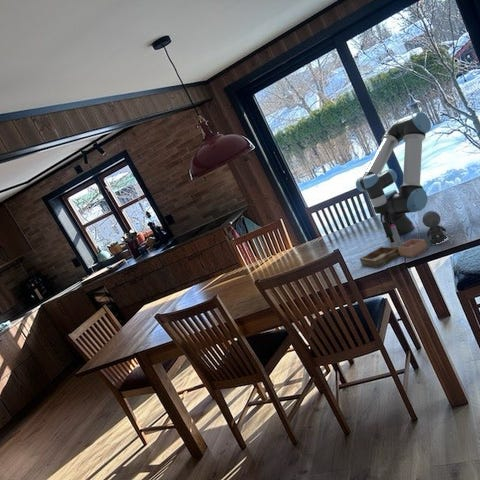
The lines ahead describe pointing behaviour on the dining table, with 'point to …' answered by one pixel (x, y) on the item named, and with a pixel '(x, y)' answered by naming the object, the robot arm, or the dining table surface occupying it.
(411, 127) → the robot arm
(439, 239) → the figurine
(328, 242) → the dining table surface
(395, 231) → the supplement box
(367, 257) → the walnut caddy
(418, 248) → the tan square open box
